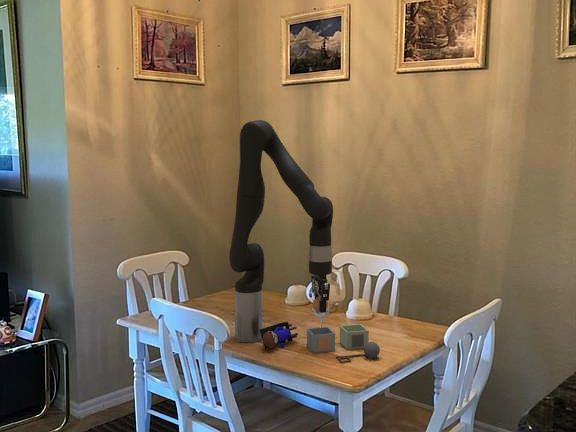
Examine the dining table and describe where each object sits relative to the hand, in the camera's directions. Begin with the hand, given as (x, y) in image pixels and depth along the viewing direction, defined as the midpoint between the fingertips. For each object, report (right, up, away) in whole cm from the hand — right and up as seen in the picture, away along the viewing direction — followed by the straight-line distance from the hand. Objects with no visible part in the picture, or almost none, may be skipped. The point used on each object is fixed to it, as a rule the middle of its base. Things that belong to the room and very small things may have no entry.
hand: (320, 309), depth 198 cm
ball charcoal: (+16, -11, -8) cm, 21 cm away
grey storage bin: (0, -13, +1) cm, 13 cm away
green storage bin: (+11, -13, +4) cm, 17 cm away
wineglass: (+1, -11, +18) cm, 22 cm away
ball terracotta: (0, +2, 0) cm, 2 cm away
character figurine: (-14, -13, +5) cm, 19 cm away
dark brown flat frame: (+11, -14, -9) cm, 20 cm away
